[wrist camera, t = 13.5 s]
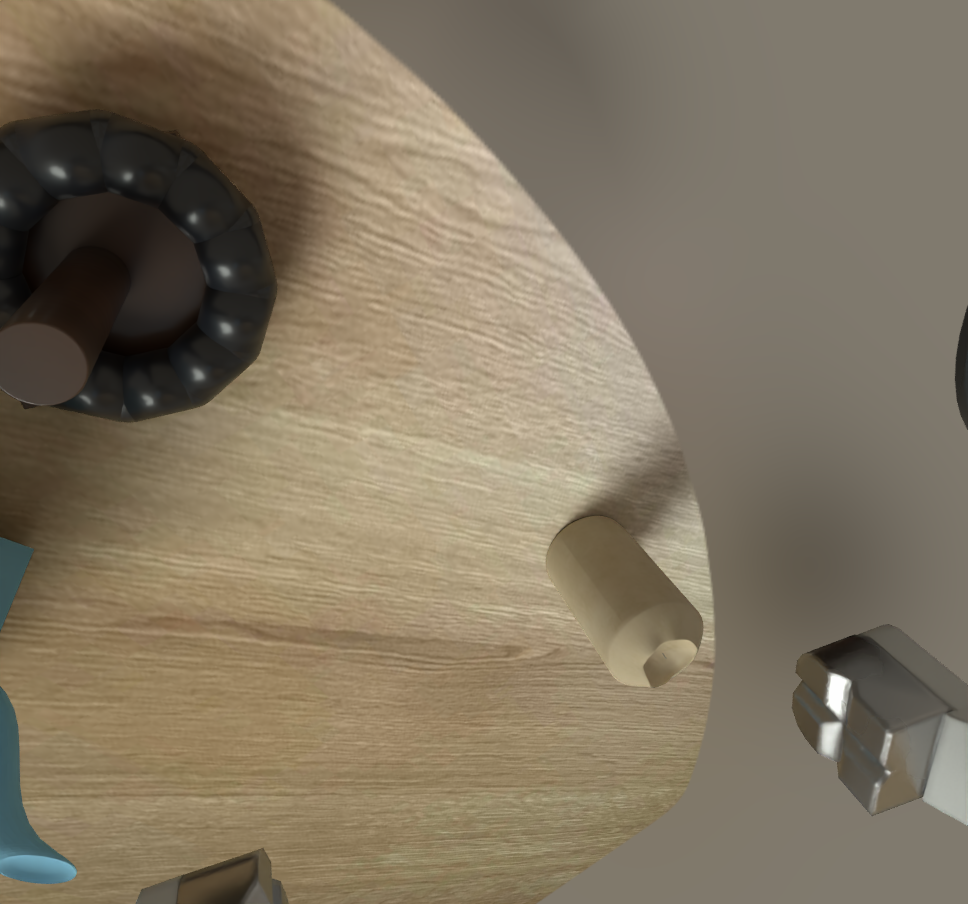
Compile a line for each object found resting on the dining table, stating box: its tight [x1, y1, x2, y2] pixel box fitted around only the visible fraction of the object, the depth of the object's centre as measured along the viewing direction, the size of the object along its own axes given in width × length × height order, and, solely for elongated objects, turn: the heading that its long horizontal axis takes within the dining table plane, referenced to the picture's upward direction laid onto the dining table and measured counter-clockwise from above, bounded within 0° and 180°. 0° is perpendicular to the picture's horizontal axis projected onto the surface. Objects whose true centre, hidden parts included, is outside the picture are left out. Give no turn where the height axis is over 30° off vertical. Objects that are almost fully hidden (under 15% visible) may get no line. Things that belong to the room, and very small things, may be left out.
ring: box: [0, 109, 277, 423], centre depth 27 cm, size 11×11×3 cm
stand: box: [0, 130, 206, 409], centre depth 24 cm, size 9×9×12 cm
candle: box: [546, 516, 703, 688], centre depth 39 cm, size 6×6×10 cm
